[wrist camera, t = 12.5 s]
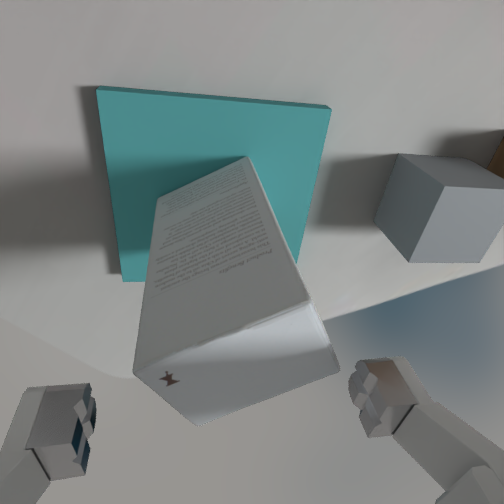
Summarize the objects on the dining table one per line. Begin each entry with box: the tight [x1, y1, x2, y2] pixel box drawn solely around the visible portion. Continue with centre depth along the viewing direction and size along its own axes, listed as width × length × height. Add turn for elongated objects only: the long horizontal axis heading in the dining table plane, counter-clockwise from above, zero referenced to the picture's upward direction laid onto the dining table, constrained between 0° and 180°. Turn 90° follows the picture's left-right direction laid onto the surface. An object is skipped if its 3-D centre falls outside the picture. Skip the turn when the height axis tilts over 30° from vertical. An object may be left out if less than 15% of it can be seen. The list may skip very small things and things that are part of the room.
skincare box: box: [133, 157, 340, 426], centre depth 16 cm, size 6×4×12 cm
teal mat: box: [96, 86, 332, 282], centre depth 21 cm, size 12×12×1 cm
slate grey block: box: [374, 153, 504, 263], centre depth 22 cm, size 5×5×5 cm
